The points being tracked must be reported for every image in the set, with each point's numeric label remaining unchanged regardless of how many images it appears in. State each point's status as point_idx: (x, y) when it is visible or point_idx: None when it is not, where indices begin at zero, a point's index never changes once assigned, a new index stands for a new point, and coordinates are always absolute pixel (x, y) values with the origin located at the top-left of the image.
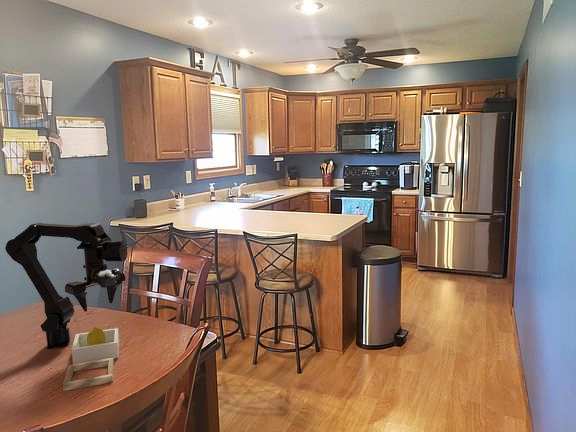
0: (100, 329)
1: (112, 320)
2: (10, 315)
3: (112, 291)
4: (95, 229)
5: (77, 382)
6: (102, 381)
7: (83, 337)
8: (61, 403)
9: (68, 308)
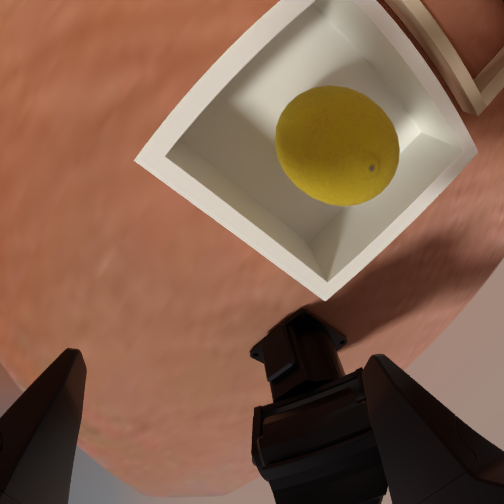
0: (338, 133)
1: (54, 357)
2: (220, 492)
3: (17, 467)
4: None
5: None
6: None
7: (308, 259)
8: None
9: (320, 456)
